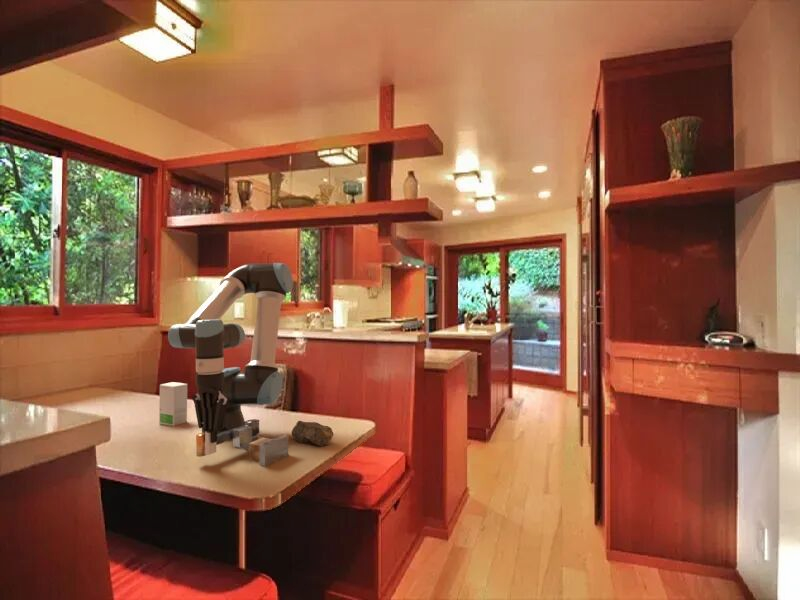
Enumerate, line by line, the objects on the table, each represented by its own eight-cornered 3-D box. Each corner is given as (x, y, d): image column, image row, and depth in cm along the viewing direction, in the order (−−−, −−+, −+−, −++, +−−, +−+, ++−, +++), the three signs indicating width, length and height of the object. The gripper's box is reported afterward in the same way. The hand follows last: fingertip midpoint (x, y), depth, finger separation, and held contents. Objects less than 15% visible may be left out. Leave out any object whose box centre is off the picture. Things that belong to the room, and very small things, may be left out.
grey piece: (214, 455, 135) (214, 436, 135) (252, 439, 150) (252, 422, 149) (265, 466, 126) (264, 445, 126) (300, 448, 140) (300, 430, 140)
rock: (342, 427, 148) (324, 427, 139) (338, 447, 146) (320, 449, 138) (304, 419, 156) (285, 418, 148) (301, 438, 155) (281, 439, 147)
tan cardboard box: (248, 459, 132) (248, 443, 132) (263, 453, 137) (263, 437, 137) (260, 462, 129) (260, 445, 129) (275, 455, 135) (275, 439, 135)
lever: (192, 455, 127) (192, 434, 127) (252, 433, 147) (252, 415, 147) (208, 459, 124) (208, 438, 124) (268, 436, 144) (268, 418, 144)
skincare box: (158, 424, 169) (158, 384, 169) (173, 419, 176) (172, 381, 175) (174, 426, 166) (173, 386, 166) (188, 421, 172) (187, 382, 172)
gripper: (183, 372, 125) (184, 454, 125) (214, 375, 119) (216, 461, 120) (205, 369, 132) (206, 446, 132) (236, 371, 126) (237, 452, 126)
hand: (210, 453), depth 126 cm, fingers closed
